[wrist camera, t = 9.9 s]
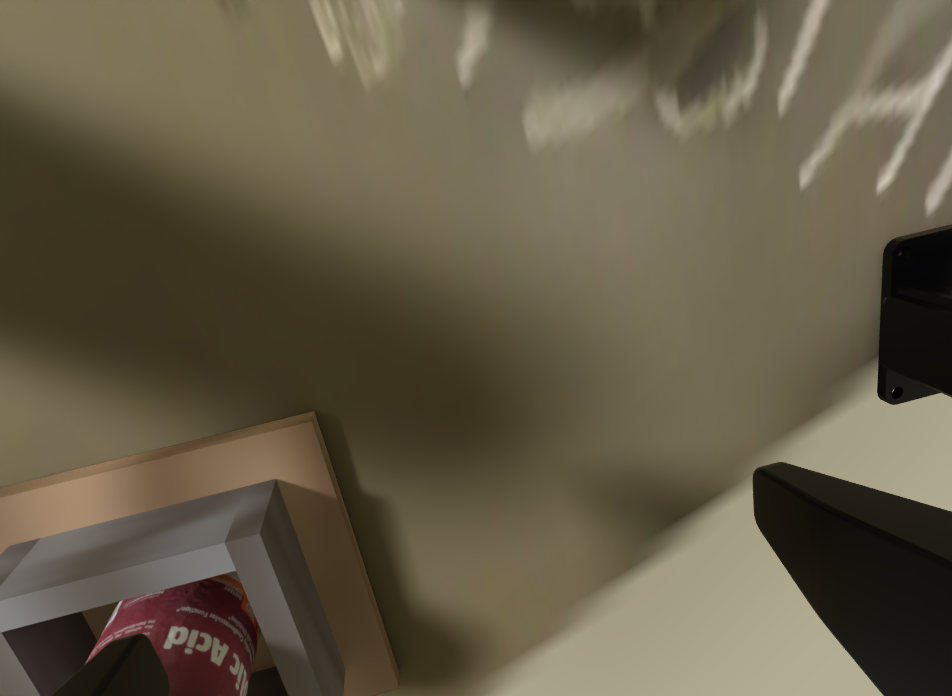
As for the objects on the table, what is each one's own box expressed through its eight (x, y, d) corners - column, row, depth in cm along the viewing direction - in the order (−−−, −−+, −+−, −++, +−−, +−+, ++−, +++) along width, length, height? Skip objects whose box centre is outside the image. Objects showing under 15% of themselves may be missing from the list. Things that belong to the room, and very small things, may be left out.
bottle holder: (314, 411, 20) (301, 468, 17) (398, 671, 24) (402, 761, 21) (-57, 501, 19) (-154, 582, 16) (97, 756, 24) (47, 866, 20)
